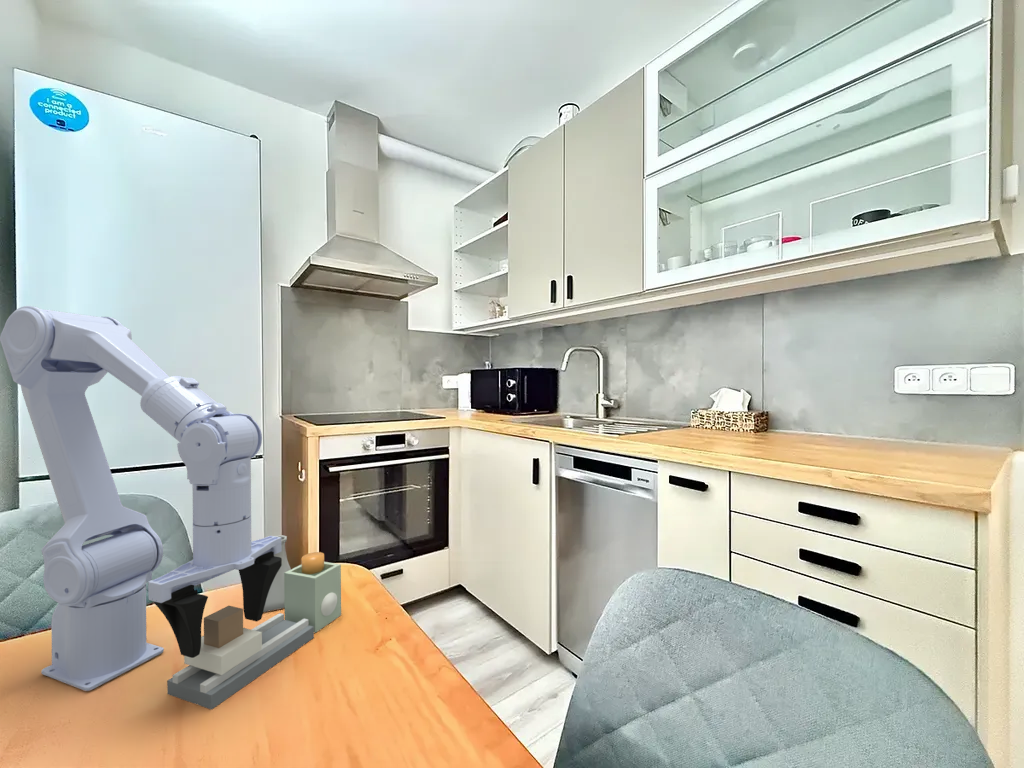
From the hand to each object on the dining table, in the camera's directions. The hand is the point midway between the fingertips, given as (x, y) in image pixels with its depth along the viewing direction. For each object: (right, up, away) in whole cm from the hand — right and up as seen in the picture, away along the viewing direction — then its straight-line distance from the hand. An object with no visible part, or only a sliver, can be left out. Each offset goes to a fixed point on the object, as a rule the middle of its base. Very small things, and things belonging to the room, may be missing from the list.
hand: (223, 635), depth 51 cm
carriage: (0, -2, 0) cm, 2 cm away
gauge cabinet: (+5, -5, +13) cm, 14 cm away
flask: (-4, -5, +19) cm, 20 cm away
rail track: (+1, -5, +3) cm, 6 cm away
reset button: (+5, +2, +13) cm, 14 cm away
